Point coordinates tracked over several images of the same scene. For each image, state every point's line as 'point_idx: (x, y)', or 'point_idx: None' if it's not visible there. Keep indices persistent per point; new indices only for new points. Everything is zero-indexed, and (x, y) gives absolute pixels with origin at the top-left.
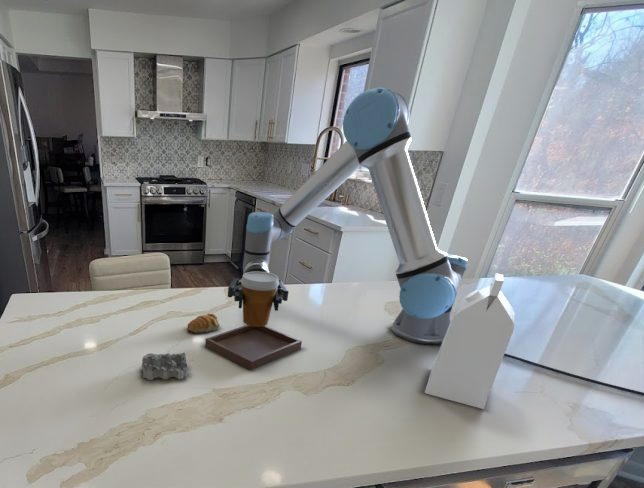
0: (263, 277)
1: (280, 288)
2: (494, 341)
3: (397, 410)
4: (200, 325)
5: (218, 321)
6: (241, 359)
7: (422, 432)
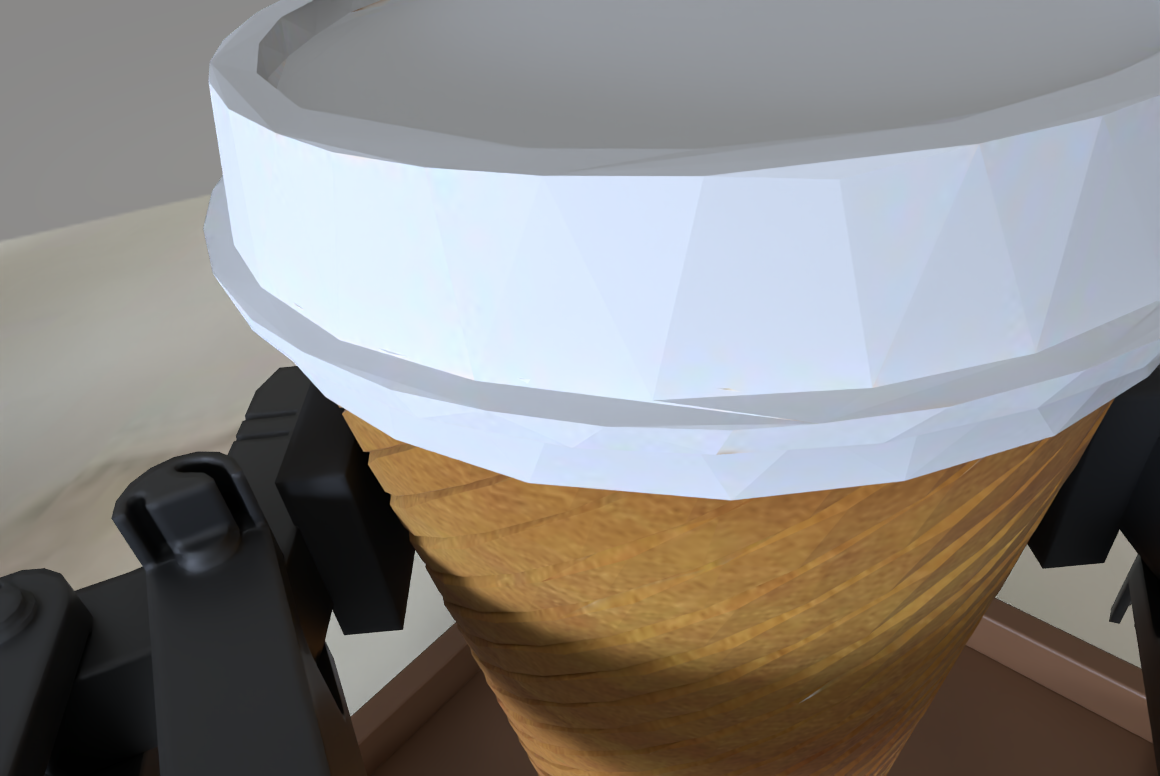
0: (615, 41)
1: (161, 494)
2: None
3: (19, 354)
4: None
5: None
6: None
7: (40, 283)
